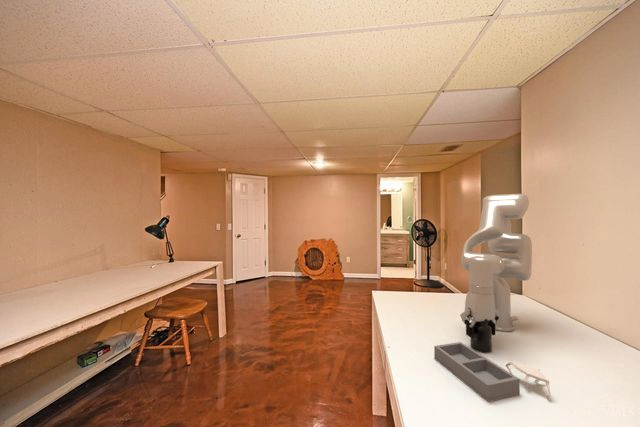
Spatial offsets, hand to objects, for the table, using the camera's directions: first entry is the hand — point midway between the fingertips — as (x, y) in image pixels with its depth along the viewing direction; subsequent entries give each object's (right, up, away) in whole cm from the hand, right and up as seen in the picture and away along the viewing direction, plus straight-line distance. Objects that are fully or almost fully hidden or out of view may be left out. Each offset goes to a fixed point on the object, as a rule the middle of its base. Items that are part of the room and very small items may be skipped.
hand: (480, 335), depth 94 cm
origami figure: (+1, -5, -20) cm, 21 cm away
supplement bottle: (0, -5, 0) cm, 5 cm away
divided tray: (-12, -5, -15) cm, 20 cm away
